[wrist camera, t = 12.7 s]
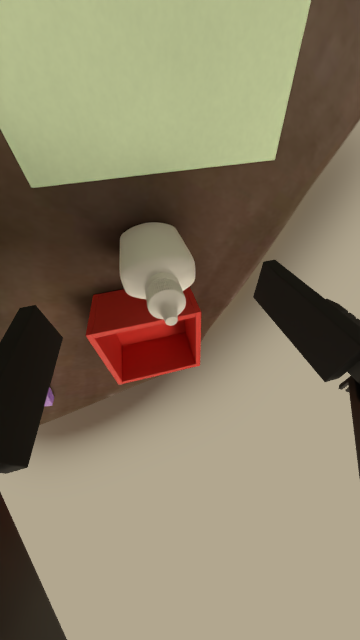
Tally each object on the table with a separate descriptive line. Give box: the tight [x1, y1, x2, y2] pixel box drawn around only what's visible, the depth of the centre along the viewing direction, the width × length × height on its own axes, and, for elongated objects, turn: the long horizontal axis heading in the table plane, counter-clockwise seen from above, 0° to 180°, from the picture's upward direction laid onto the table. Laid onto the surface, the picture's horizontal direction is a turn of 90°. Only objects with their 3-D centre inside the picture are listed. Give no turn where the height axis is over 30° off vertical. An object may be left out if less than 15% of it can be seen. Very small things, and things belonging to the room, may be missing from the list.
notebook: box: [0, 0, 311, 188], centre depth 11 cm, size 20×10×1 cm, turn 94°
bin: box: [86, 287, 201, 385], centre depth 23 cm, size 11×10×6 cm
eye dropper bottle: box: [120, 222, 195, 326], centre depth 14 cm, size 4×6×12 cm
